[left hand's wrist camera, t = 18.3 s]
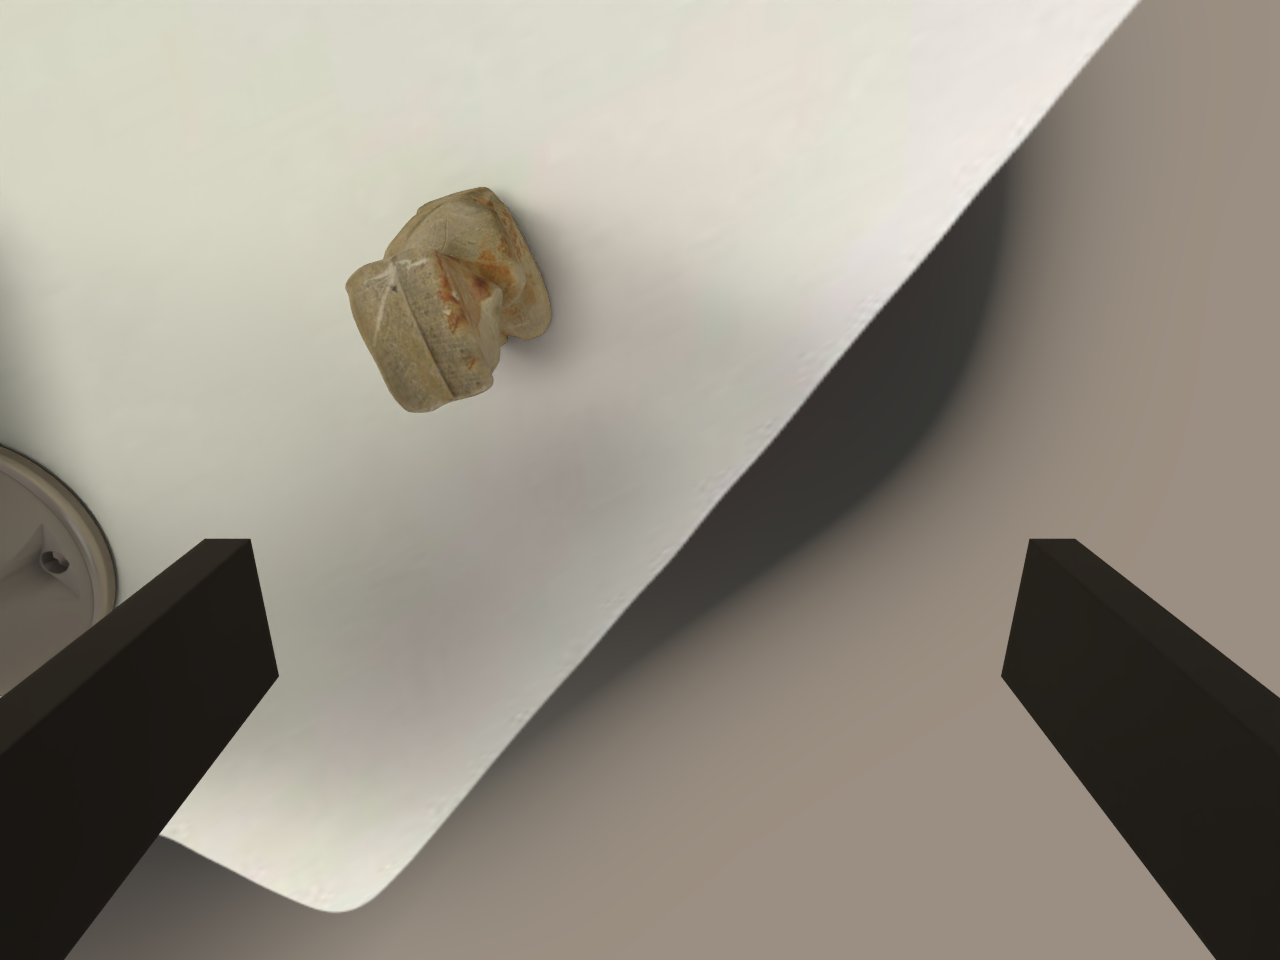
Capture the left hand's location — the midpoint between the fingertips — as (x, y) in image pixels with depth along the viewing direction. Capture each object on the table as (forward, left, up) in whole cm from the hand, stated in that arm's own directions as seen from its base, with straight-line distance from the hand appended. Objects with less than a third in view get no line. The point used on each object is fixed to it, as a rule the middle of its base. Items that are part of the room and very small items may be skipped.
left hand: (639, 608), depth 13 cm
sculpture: (-2, +8, -27) cm, 28 cm away
